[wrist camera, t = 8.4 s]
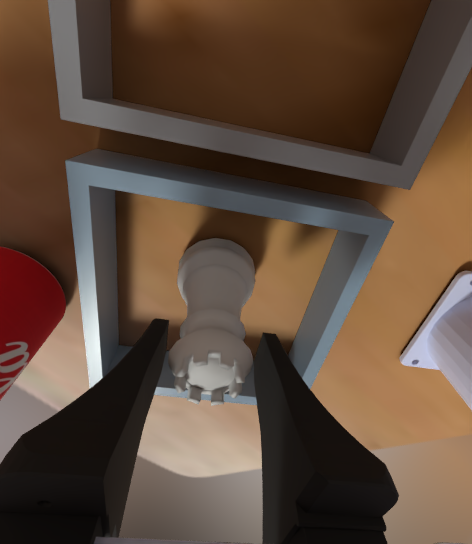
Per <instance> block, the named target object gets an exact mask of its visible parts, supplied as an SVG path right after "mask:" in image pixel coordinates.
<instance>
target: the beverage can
mask: <svg viewBox="0 0 472 544" xmlns="http://www.w3.org/2000/svg"><path fill="white" fill-rule="evenodd" d="M65 309H66V300H65V295H64V292H63V290H62V288H61V286H60V284H59V282H58V281H57V280H56V278H55V277H54V276H53V275H52V274H51V272H50V271H48V270H47V269H46V268H45V267H44V266H43V265H42V264H40V263H39V262H37V261H36V260H34V259H33V258H31V257H29V256H27V255H25V254H23V253H21V252H19V251H16V250H13V249H9V248H6V247H1V246H0V400H1V399H2V398H3V396H4V395H5V393H6V392H7V391H8V390H9V388H10V387H11V385H12V384H13V383H14V382H15V380H16V379H17V378H18V376H19V375H20V374H21V372H22V371H23V370H24V368H25V367H26V366H27V364H28V363H29V362H30V360H31V359H32V358H33V356H34V355H35V354H36V352H37V351H38V350H39V348H40V347H41V346H42V345H43V343H44V342H45V341H46V339H47V338H48V337H49V335H50V334H51V333H52V331H53V330H54V329H55V327H56V326H57V325H58V323H59V322H60V321H61V319H62V318H63V316H64V313H65Z"/></svg>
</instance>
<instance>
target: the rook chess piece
mask: <svg viewBox="0 0 472 544" xmlns="http://www.w3.org/2000/svg"><path fill="white" fill-rule="evenodd" d="M177 284H178V288H179V290H180V293H181V295H182V298H183V299H184V300H185V303H186V305H187V318H186V319H185V321H184V322H183V323H182V325H181V328H180V338H181V339H180V340H178V341H176V343H175V344H174V346H173V347H172V348H171V350H170V351H169V357H168V365H169V367H170V369H171V371H172V373H173V375H174V376H175V381H174V386H175V388H176V390H177V392H178V393H181V392H184V391H185V389H186V388H187V389H188V395H187V400H188V401H190V402H193V403H196V404H199V402H200V400H201V394H208V395H211V406H212V405H219V404H224V393H225V392H227V391H229V396H231V397H233V398H234V399H235V398H236V397H237V396H238V395H239V394H240V393H241V392H242V383H245V377H246V376H247V375H248V374H249V373H250V371H251V368H252V365H253V357H252V353H251V350H250V348H249V347H248V346H247V345H246V344H245V343H244V338H245V335H246V333H245V329H244V325H243V324H242V322H241V321H240V316H241V309H242V307H243V306H244V305H245V303H246V302H247V301H248V299H249V298H250V297H251V295H252V292H253V288H254V284H255V268H254V263H253V259H252V258H251V257H250V255H249V254H248V253H247V251H246V250H245V249H244V248H243V247H241V246H240V245H238V244H236V243H234V242H233V241H231V240H225V239H219V238H212V239H207V240H202V241H199V242H197V243H196V244H194V245H193V246H191V247H190V248H188V249H187V250H186V251H185V253H184V255H183V256H182V258H181V259H180V261H179V269H178V278H177Z"/></svg>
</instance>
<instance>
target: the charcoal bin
mask: <svg viewBox="0 0 472 544" xmlns="http://www.w3.org/2000/svg"><path fill="white" fill-rule="evenodd" d="M48 7H49V16H50V25H51V34H52V44H53V53H54V62H55V71H56V80H57V90H58V99H59V108H60V117H61V119H62V120H67V121H71V122H76V123H81V124H86V125H91V126H96V127H101V128H106V129H111V130H116V131H121V132H126V133H131V134H136V135H141V136H146V137H151V138H156V139H161V140H166V141H171V142H175V143H180V144H185V145H190V146H195V147H200V148H205V149H210V150H215V151H220V152H225V153H230V154H235V155H240V156H245V157H250V158H255V159H260V160H265V161H270V162H275V163H279V164H284V165H289V166H294V167H299V168H304V169H309V170H314V171H319V172H324V173H329V174H334V175H339V176H344V177H349V178H354V179H359V180H364V181H369V182H374V183H379V184H384V185H388V186H393V187H398V188H403V189H408V190H410V189H411V187H412V185H413V183H414V181H415V179H416V177H417V175H418V173H419V171H420V169H421V167H422V165H423V163H424V161H425V159H426V157H427V155H428V153H429V151H430V149H431V147H432V145H433V143H434V141H435V139H436V137H437V135H438V133H439V131H440V129H441V127H442V125H443V123H444V121H445V119H446V117H447V115H448V113H449V111H450V109H451V107H452V105H453V103H454V101H455V99H456V97H457V95H458V93H459V91H460V89H461V87H462V85H463V83H464V81H465V79H466V77H467V75H468V73H469V71H470V69H471V67H472V0H431V2H430V5H429V7H428V10H427V12H426V15H425V17H424V20H423V22H422V25H421V27H420V30H419V32H418V35H417V37H416V40H415V42H414V44H413V47H412V49H411V52H410V54H409V57H408V59H407V62H406V64H405V67H404V69H403V72H402V74H401V77H400V79H399V82H398V84H397V87H396V89H395V92H394V94H393V97H392V99H391V101H390V104H389V106H388V109H387V111H386V114H385V116H384V119H383V121H382V124H381V126H380V129H379V131H378V134H377V136H376V139H375V141H374V144H373V146H372V149H371V151H370V153H365V152H360V151H356V150H351V149H346V148H342V147H337V146H332V145H327V144H323V143H318V142H313V141H309V140H304V139H299V138H295V137H290V136H285V135H281V134H276V133H271V132H267V131H262V130H257V129H253V128H248V127H243V126H239V125H234V124H229V123H225V122H220V121H215V120H211V119H206V118H201V117H197V116H192V115H187V114H183V113H178V112H173V111H169V110H164V109H159V108H155V107H150V106H145V105H141V104H136V103H131V102H127V101H122V100H117V99H113V88H112V48H111V8H110V0H48Z"/></svg>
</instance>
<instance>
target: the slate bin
mask: <svg viewBox="0 0 472 544" xmlns="http://www.w3.org/2000/svg"><path fill="white" fill-rule="evenodd" d="M65 163H66V172H67V182H68V191H69V200H70V209H71V218H72V228H73V237H74V246H75V255H76V264H77V274H78V283H79V292H80V301H81V310H82V320H83V329H84V338H85V347H86V357H87V366H88V375H89V384H90V388H91V387H93V386H94V385H95V384H96V383H97V382H99V381H100V380H101V379H102V378H103V377H104V376H105V375H106V374H107V373H109V372H110V371H111V370H112V369H113V368H114V367H115V366H116V365H117V364H118V363H119V362H120V361H121V360H122V358H123V357H124V356H125V355H126V354H127V353H128V352H129V351H130V350H131V349H132V348H133V347H131V346H123V345H119V326H118V286H117V247H116V207H115V190H118V191H124V192H130V193H135V194H141V195H146V196H152V197H158V198H163V199H169V200H174V201H180V202H186V203H191V204H197V205H202V206H208V207H213V208H219V209H225V210H230V211H236V212H241V213H247V214H253V215H258V216H264V217H269V218H275V219H281V220H286V221H292V222H297V223H303V224H309V225H314V226H320V227H325V228H331V229H336V230H338V233H337V235H336V238H335V240H334V243H333V245H332V248H331V250H330V253H329V255H328V258H327V260H326V263H325V265H324V268H323V270H322V272H321V275H320V277H319V280H318V282H317V285H316V287H315V290H314V292H313V295H312V297H311V300H310V302H309V305H308V307H307V310H306V312H305V315H304V317H303V320H302V322H301V325H300V327H299V329H298V332H297V334H296V337H295V339H294V342H293V344H292V347H291V349H290V352H289V354H288V357H289V358H290V360H291V362H292V363H293V365H294V367H295V368H296V370H297V371H298V373H299V374H300V376H301V377H302V379H303V380H304V382H305V383H306V384H307V386H308V387H309V389H310V388H311V386H312V384H313V382H314V380H315V378H316V376H317V374H318V372H319V370H320V368H321V366H322V364H323V362H324V360H325V358H326V356H327V354H328V352H329V350H330V348H331V346H332V344H333V342H334V340H335V338H336V336H337V334H338V332H339V330H340V328H341V326H342V324H343V322H344V320H345V318H346V316H347V314H348V312H349V310H350V308H351V306H352V304H353V302H354V300H355V298H356V296H357V294H358V292H359V290H360V289H361V287H362V285H363V283H364V281H365V279H366V277H367V275H368V273H369V271H370V269H371V267H372V265H373V263H374V261H375V259H376V257H377V255H378V253H379V251H380V249H381V247H382V245H383V243H384V241H385V239H386V237H387V235H388V233H389V231H390V229H391V227H392V225H393V223H394V221H392V220H391V219H390V218H388V217H387V216H386V215H384V214H383V213H382V212H380V211H379V210H378V209H376V208H375V207H374V206H372V205H371V204H370V203H368V202H367V201H365V200H360V199H355V198H349V197H344V196H339V195H334V194H329V193H324V192H318V191H313V190H308V189H303V188H298V187H293V186H287V185H282V184H277V183H272V182H267V181H262V180H256V179H251V178H246V177H241V176H236V175H231V174H225V173H220V172H215V171H210V170H205V169H200V168H194V167H189V166H184V165H179V164H174V163H169V162H163V161H158V160H153V159H148V158H143V157H138V156H132V155H127V154H122V153H117V152H112V151H106V150H101V149H94V150H91V151H89V152H86V153H83V154H81V155H78V156H75V157H73V158H70V159H67V160H65ZM168 357H169V351H166V354H165V358H164V363H163V367H162V372H161V375H160V378H159V381H158V384H157V387H156V390H155V393H154V395H161V396H171V397H181V398H187V395H188V389H187V388H186V389H185V391H184V392H181V393H178V392H177V390H176V388H175V386H174V381H175V376H174V375H173V373H172V371H171V369H170V367H169V365H168ZM201 400H211V395H208V394H201ZM224 402H231V403H240V404H250V405H257V401H256V393H255V385H254V361H253V365H252V368H251V371H250V373H249V374H248V375H247V376H246V377H245V383H242V392H241V393H240V394H239V395H238V396H237V397H236V398H235V399H234V398H233V397H231V396H229V391H227V392H225V393H224Z"/></svg>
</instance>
